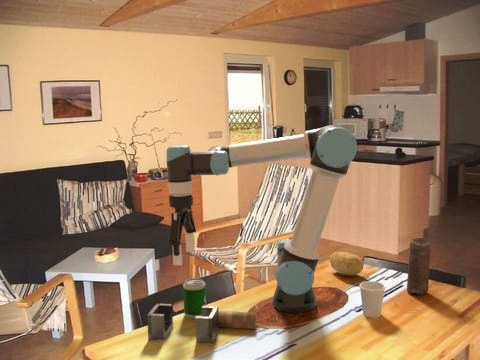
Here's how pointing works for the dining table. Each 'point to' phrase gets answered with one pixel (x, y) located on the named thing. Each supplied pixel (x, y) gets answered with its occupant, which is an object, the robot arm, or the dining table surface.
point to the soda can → (194, 297)
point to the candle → (418, 266)
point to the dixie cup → (372, 298)
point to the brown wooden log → (237, 319)
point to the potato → (346, 263)
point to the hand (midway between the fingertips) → (184, 258)
